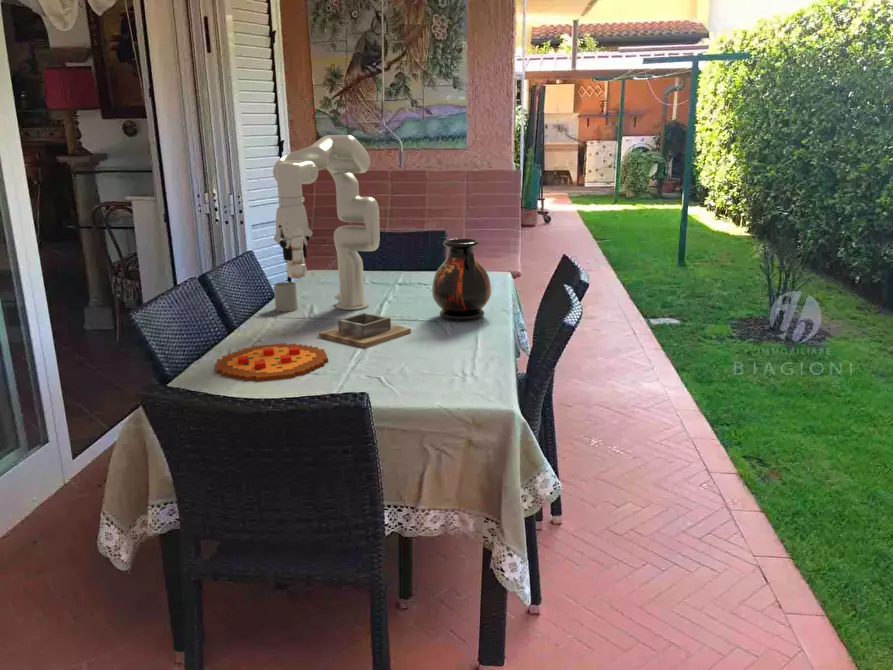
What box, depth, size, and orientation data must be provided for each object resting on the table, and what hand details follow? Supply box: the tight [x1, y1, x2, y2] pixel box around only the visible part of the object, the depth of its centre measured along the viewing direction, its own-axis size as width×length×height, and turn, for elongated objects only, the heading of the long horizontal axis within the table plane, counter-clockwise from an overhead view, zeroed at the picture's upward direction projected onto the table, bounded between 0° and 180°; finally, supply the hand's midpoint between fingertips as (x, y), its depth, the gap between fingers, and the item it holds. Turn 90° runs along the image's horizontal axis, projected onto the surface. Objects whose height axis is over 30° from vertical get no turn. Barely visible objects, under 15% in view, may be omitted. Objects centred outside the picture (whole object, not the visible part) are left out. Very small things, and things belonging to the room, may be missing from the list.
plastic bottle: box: [285, 228, 308, 279], centre depth 235 cm, size 6×7×20 cm
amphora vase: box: [431, 238, 492, 322], centre depth 264 cm, size 22×22×28 cm
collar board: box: [317, 312, 412, 349], centre depth 246 cm, size 22×22×6 cm
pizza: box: [216, 342, 329, 382], centre depth 219 cm, size 32×32×3 cm
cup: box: [273, 281, 299, 313], centre depth 282 cm, size 8×8×10 cm
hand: (295, 258), depth 236 cm, fingers closed on plastic bottle, 5 cm apart
